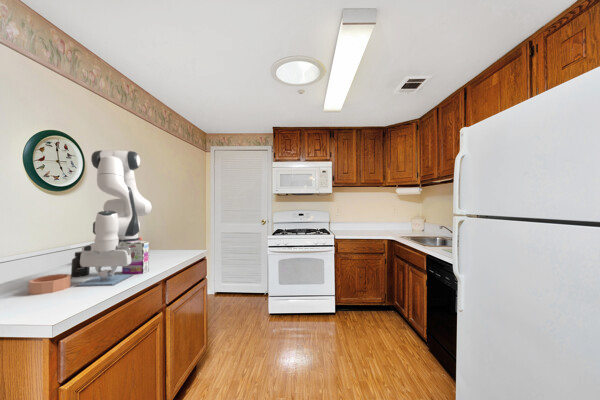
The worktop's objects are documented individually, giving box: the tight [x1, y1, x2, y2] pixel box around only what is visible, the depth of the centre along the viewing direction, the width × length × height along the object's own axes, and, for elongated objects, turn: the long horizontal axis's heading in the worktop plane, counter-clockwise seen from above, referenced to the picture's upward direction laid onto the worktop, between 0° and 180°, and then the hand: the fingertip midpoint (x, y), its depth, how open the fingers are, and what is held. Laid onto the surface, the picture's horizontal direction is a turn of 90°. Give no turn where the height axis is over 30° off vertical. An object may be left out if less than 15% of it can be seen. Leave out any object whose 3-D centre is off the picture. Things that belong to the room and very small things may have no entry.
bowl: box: [27, 273, 72, 296], centre depth 101 cm, size 12×12×5 cm
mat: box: [73, 274, 135, 288], centre depth 113 cm, size 16×16×1 cm
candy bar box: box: [121, 240, 150, 275], centre depth 127 cm, size 11×5×16 cm, turn 88°
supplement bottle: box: [70, 250, 91, 278], centre depth 121 cm, size 7×7×12 cm
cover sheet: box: [77, 269, 132, 287], centre depth 113 cm, size 14×14×5 cm
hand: (106, 275), depth 113 cm, fingers closed on cover sheet, 3 cm apart
